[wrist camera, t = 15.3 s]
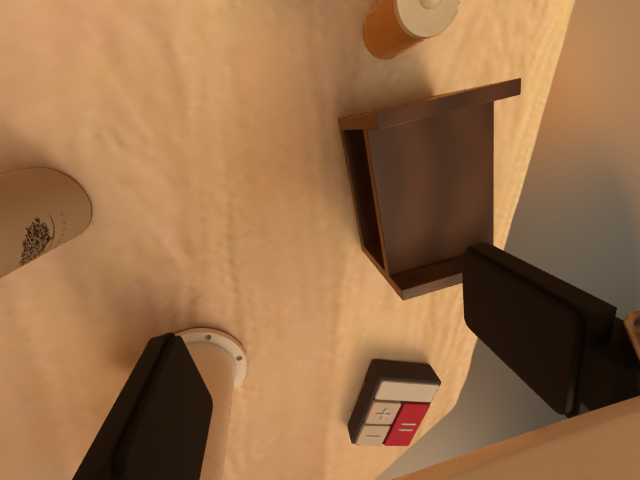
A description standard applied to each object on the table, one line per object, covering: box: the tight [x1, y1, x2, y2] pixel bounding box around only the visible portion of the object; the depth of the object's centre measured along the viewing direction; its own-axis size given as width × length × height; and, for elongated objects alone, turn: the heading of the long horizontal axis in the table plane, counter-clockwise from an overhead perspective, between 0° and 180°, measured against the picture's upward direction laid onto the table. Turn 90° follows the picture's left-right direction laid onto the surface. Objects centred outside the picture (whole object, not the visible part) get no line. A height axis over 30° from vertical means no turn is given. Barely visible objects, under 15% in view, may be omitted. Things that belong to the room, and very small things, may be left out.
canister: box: [364, 0, 460, 60], centre depth 27 cm, size 6×6×10 cm
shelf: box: [338, 78, 521, 300], centre depth 32 cm, size 12×17×13 cm
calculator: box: [348, 360, 441, 446], centre depth 49 cm, size 11×4×15 cm
